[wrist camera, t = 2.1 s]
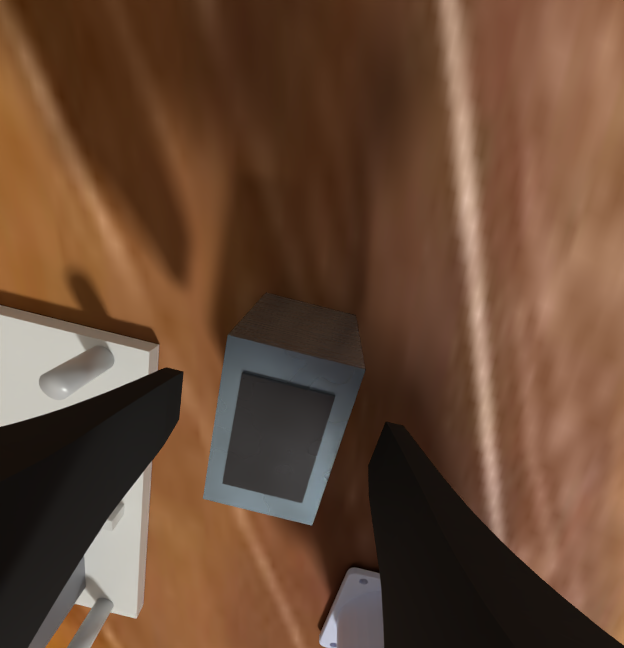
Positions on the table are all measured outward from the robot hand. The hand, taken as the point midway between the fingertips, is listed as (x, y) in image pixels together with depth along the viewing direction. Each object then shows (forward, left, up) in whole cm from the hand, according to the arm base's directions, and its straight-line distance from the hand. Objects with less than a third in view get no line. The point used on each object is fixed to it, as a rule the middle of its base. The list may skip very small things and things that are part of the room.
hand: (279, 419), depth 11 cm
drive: (0, 0, -4) cm, 4 cm away
